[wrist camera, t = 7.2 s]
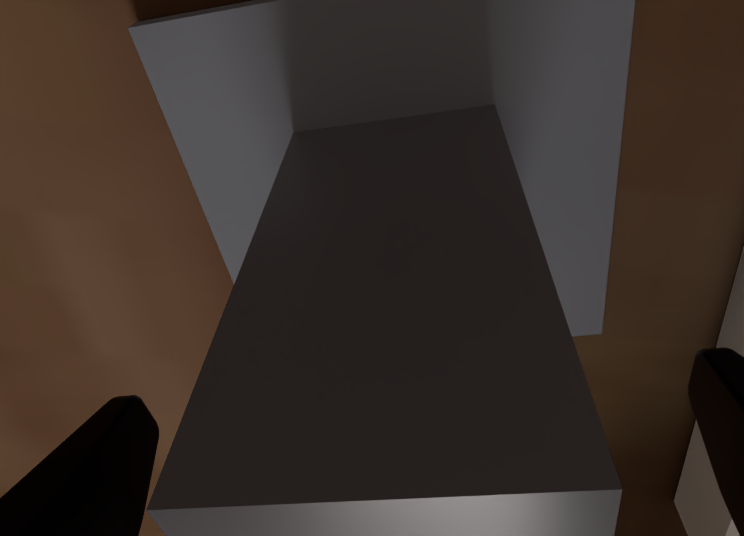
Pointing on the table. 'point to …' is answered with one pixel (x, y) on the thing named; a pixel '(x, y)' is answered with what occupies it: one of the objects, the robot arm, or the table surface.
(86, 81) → the table surface
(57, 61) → the table surface
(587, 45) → the slate mat
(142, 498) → the robot arm
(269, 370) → the grey rectangular block
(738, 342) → the power strip
